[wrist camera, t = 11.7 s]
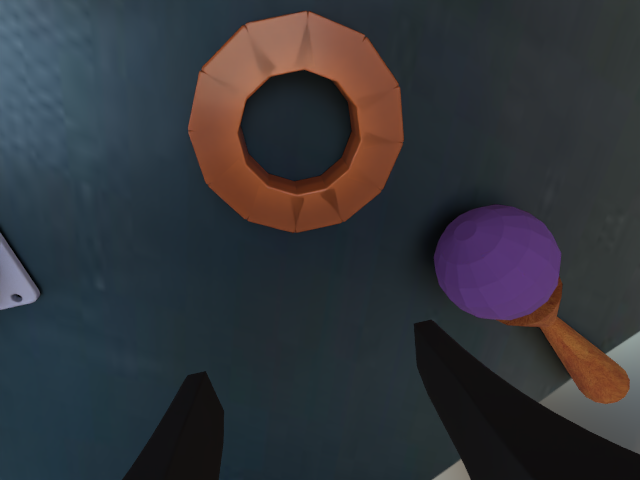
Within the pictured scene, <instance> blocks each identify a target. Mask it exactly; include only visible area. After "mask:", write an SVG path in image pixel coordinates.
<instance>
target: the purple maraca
mask: <svg viewBox="0 0 640 480" xmlns="http://www.w3.org/2000/svg"><path fill="white" fill-rule="evenodd" d="M560 261H561V252H560V250H559V248H558V245H557V243H556V241H555V239H554V237H553V235H552V234H551V232H550V231H549V230H548V228H547V227H546V226H545V224H544V223H543V222H541V221H540V220H539V219H537V218H536V217H534V216H533V215H531V214H530V213H528V212H526V211H523V210H520V209H517V208H515V207H511V206H504V205H498V204H494V205H489V206H484V207H479V208H475V209H472V210H470V211H468V212H466V213H464V214H462V215H460V216H458V217H457V218H456V219H455V220H453V221H452V222H451V223H450V224H449V225H448V226H447V228H446V229H445V231H444V232H443V234H442V235H441V237H440V239H439V241H438V243H437V247H436V251H435V254H434V263H435V270H436V274H437V278H438V282H439V285H440V287H441V288H442V290H443V291H444V292H445V294H446V295H447V296H448V298H449V299H450V300H451V301H452V302H454V303H455V304H456V305H457V306H458V307H459V308H460V309H461V310H464V311H466V312H468V313H470V314H472V315H474V316H476V317H478V318H485V319H495V320H498V321H500V322H502V323H504V324H506V325H512V326H531V327H540V328H541V330H542V332H543V333H544V335H545V336H546V338H547V339H548V341H549V343H550V344H551V346H552V347H553V349H554V351H555V352H556V354H557V355H558V357H559V358H560V360H561V362H562V363H563V365H564V366H565V368H566V369H567V371H568V373H569V374H570V376H571V377H572V379H573V380H574V382H575V383H576V385H577V387H578V388H579V390H580V391H581V392H582V393H583V394H584V395H585V396H586V397H587V398H589V399H591V400H593V401H595V402H599V403H604V404H608V403H614V402H617V401H619V400H621V399H622V398H624V397H625V395H626V394H627V392H628V390H629V383H630V382H629V381H630V380H629V378H628V375H627V374H626V371H625V370H624V369H623V368H621V367H620V366H619V365H618V364H617V363H616V362H615V361H613V360H612V359H611V358H609V357H608V356H607V355H606V354H604V353H603V352H602V351H600V350H599V349H598V348H597V347H595V346H594V345H593V344H592V343H590V342H589V341H588V340H586V339H585V338H584V337H583V336H581V335H580V334H579V333H578V332H576V331H575V330H574V329H572V328H571V327H570V326H569V325H567V324H566V323H565V322H563V321H562V320H561V319H560V318H558V317H557V312H558V308H559V304H560V300H561V294H562V282H561V280H560V277H559V270H560Z"/></svg>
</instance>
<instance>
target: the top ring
mask: <svg viewBox="0 0 640 480" xmlns="http://www.w3.org/2000/svg"><path fill="white" fill-rule="evenodd" d="M300 70H307V71H309V72H312V73H315V74H317V75H320V76H322V77H325V78H328V79H330V80H331V81H332V82H333V83H334V84H335V86H336V87H337V88H338V90H339V91H340V92H341V94H342V95H343V96H344V97H345V99H346V100H347V101H348V107H349V114H350V122H351V129H352V132H351V135H350V137H349V140H348V142H347V145H346V148H345V150H344V153H343V156H342V158H341V159H339V160H338V161H337V162H336V163H335V164H334V165H332V166H331V167H330V168H329V169H328V170H327V171H326V172H324V173H323V174H322V175H321V176H317V177H312V178H308V179H303V180H299V181H292V180H288V179H285V178H282V177H278V176H275V175H272V174H268V173H267V172H266V171H265V170H264V169H263V168H262V167H261V166H260V165H259V164H258V163H257V162H256V161H255V160H254V159H253V158H252V157H251V156H250V155H249V154H248V150H247V147H246V143H245V139H244V136H243V132H242V128H241V125H240V124H241V120H242V116H243V112H244V108H245V105H246V101H247V99H248V98H249V97H250V96H251V95H252V94H253V93H254V92H256V91H257V90H258V89H259V88H260V87H261V86H262V85H263V84H264V83H265V82H266V81H267V80H268V79H269V78H270V77H272V76H276V75H281V74H286V73H291V72H296V71H300ZM398 85H399V84H398V82H397V80H396V79H395V77H394V76H393V74H392V73H391V72H390V70H389V69H388V67H387V66H386V64H385V63H384V61H383V60H382V58H381V57H380V55H379V54H378V52H377V51H376V49H375V48H374V46H373V45H372V43H371V42H370V40H369V39H368V38H367V37H365V35H364V34H362V33H360V32H357V31H355V30H353V29H350V28H348V27H346V26H343V25H341V24H339V23H336V22H334V21H332V20H329V19H327V18H325V17H322V16H320V15H318V14H315V13H313V12H311V11H309V12H307V11H302V12H297V13H292V14H288V15H283V16H278V17H273V18H268V19H263V20H258V21H253V22H248V23H246V26H245V25H243V26H241V27H240V28H239V30H238V31H237V32H236V33H235V34H234V35H233V36H232V37H231V38H230V39H229V40H228V41H227V42H226V43H225V44H224V45H223V46H222V47H221V48H220V49H219V50H218V51H217V52H216V53H215V54H214V55H213V56H212V58H211V59H210V60H209V61H208V62H207V63H206V64H205V65H204V66H203V67H202V70H201V71H200V72H199V76H198V81H197V86H196V91H195V96H194V101H193V106H192V111H191V116H190V121H189V126H188V130H189V131H188V133H189V136H190V139H191V142H192V145H193V147H194V150H195V153H196V156H197V159H198V162H199V165H200V168H201V171H202V174H203V176H204V179H205V182H206V184H208V186H209V187H210V188H211V189H212V190H213V191H214V192H215V193H216V194H217V195H219V196H220V197H221V198H222V199H223V200H224V201H225V202H226V203H227V204H228V205H230V206H231V207H232V208H233V209H234V210H235V211H236V212H237V213H238V214H239V215H241V216H242V217H243V218H244V219H247V221H249V222H253V223H257V224H261V225H265V226H269V227H273V228H276V229H280V230H284V231H288V232H292V233H294V232H296V233H298V232H303V231H307V230H312V229H317V228H321V227H326V226H330V225H335V224H339V223H342V221H343V222H345V221H346V220H347V219H349V218H350V217H351V216H352V215H353V214H355V213H356V212H357V211H358V210H360V209H361V208H362V207H363V206H365V205H366V204H367V203H368V202H369V201H371V200H372V199H373V198H374V197H376V196H377V195H378V194H379V193H381V190H383V188H384V186H385V184H386V181H387V179H388V177H389V175H390V172H391V170H392V168H393V166H394V163H395V161H396V159H397V157H398V154H399V152H400V150H401V148H402V145H403V143H402V142H403V141H404V135H403V120H402V106H401V92H400V87H399V86H398ZM380 189H381V190H380Z"/></svg>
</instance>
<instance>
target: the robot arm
mask: <svg viewBox="0 0 640 480" xmlns="http://www.w3.org/2000/svg"><path fill="white" fill-rule="evenodd" d="M16 294H18V295H20V296H21V297H22V298H20V297H18V296H17V295H16ZM39 296H40V291H39V289H38V288H37V286H36V285H35V283H34V282H33V280H32V279H31V277H30V276H29V274H28V273H27V271H26V270H25V268H24V267H23V266H22V264H21V263H20V261H19V260H18V258H17V257H16V255H15V254H14V252H13V251H12V249H11V248H10V246H9V245H8V243H7V242H6V240H5V239H4V237H3V236H2V234H1V233H0V310H2V309H6V308H11V307H15V306H20V305H25V304H29V303H33V302H35V301H36V300H37V299H38V297H39ZM414 332H415V346H416V360H417V367H418V370H419V373H420V375H421V378H422V381H423V383H424V386H425V388H426V391H427V393H428V395H429V397H430V399H431V401H432V403H433V405H434V407H435V409H436V411H437V413H438V415H439V417H440V419H441V421H442V422H443V424H444V426H445V428H446V430H447V432H448V434H449V436H450V438H451V440H452V442H453V443H454V445H455V447H456V449H457V451H458V453H459V455H460V457H461V459H462V461H463V463H464V465H465V467H466V469H467V472H468V474H469V476H470V479H471V480H640V454H638V453H635V452H633V451H631V450H628V449H626V448H623V447H621V446H619V445H617V444H615V443H612V442H610V441H608V440H606V439H604V438H602V437H600V436H598V435H596V434H594V433H592V432H590V431H588V430H586V429H584V428H582V427H580V426H579V425H577V424H575V423H573V422H571V421H569V420H567V419H566V418H564V417H562V416H560V415H558V414H556V413H554V412H553V411H551V410H549V409H548V408H546V407H544V406H543V405H541V404H539V403H538V402H536V401H535V400H533V399H531V398H530V397H528V396H527V395H525V394H524V393H522V392H521V391H519V390H518V389H516V388H515V387H513V386H512V385H510V384H509V383H507V382H506V381H505V380H503V379H502V378H501V377H499V376H498V375H496V374H495V373H494V372H492V371H491V370H490V369H489V368H487V367H486V366H485V365H483V364H482V363H481V362H480V361H478V360H477V359H476V358H475V357H473V356H472V355H471V354H470V353H469V352H467V351H466V350H465V349H464V348H463V347H461V346H460V345H459V344H458V343H457V342H456V341H455V340H454V339H452V338H451V337H450V336H449V335H448V334H447V333H446V332H445V331H444V330H443V329H441V328H440V327H439V326H438V325H437V324H436V323H435V322H434V321H432V320H428V321H424V322H419V323H415V324H414ZM223 437H224V410H223V408H222V406H221V404H220V401H219V399H218V397H217V395H216V393H215V391H214V388H213V386H212V384H211V382H210V380H209V378H208V375H207V373H206V371H204V372H200V373H196V374H191V375H188V376H187V377H186V379H185V380H184V382H183V384H182V385H181V387H180V389H179V391H178V392H177V394H176V396H175V398H174V399H173V401H172V403H171V405H170V406H169V408H168V410H167V411H166V413H165V415H164V417H163V418H162V420H161V422H160V423H159V425H158V426H157V428H156V430H155V431H154V433H153V435H152V436H151V438H150V439H149V441H148V443H147V444H146V446H145V447H144V449H143V450H142V452H141V453H140V455H139V456H138V458H137V459H136V461H135V462H134V464H133V465H132V467H131V468H130V469H129V471H128V472H127V474H126V475H125V477H124V478H123V479H122V480H219V472H220V465H221V457H222V449H223Z"/></svg>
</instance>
